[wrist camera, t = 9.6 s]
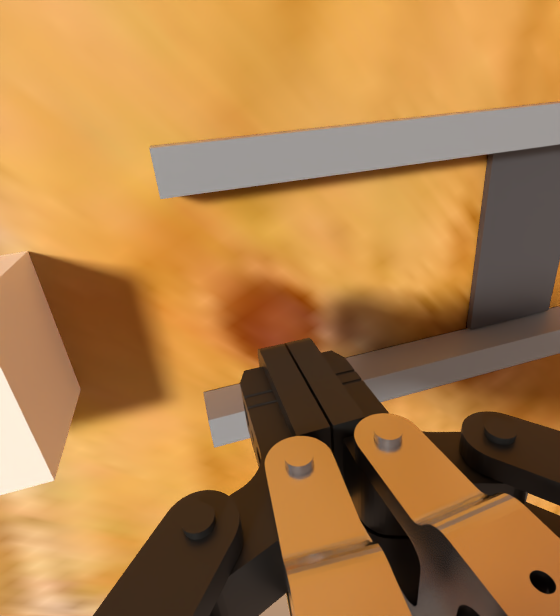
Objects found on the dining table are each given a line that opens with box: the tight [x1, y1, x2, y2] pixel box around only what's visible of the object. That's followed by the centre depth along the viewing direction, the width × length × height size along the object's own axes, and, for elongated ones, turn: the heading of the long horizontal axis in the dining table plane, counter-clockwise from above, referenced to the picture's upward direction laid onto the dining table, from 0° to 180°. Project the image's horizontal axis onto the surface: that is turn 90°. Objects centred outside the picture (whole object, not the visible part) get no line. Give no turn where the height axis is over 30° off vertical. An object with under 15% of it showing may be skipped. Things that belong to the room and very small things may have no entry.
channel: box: [150, 101, 560, 448], centre depth 17 cm, size 20×12×2 cm, turn 95°
